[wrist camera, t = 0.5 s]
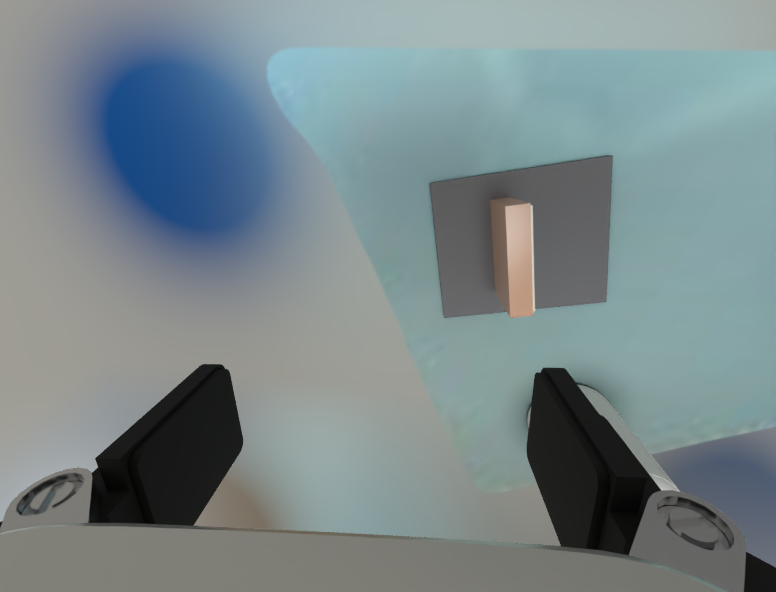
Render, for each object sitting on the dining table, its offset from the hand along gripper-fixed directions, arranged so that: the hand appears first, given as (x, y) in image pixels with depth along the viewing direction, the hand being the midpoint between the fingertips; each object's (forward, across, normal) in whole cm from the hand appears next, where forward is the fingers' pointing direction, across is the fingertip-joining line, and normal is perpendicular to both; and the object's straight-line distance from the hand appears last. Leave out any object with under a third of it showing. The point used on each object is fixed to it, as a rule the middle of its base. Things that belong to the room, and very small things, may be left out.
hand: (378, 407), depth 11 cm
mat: (+22, -10, -1) cm, 24 cm away
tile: (+22, -8, -1) cm, 23 cm away
